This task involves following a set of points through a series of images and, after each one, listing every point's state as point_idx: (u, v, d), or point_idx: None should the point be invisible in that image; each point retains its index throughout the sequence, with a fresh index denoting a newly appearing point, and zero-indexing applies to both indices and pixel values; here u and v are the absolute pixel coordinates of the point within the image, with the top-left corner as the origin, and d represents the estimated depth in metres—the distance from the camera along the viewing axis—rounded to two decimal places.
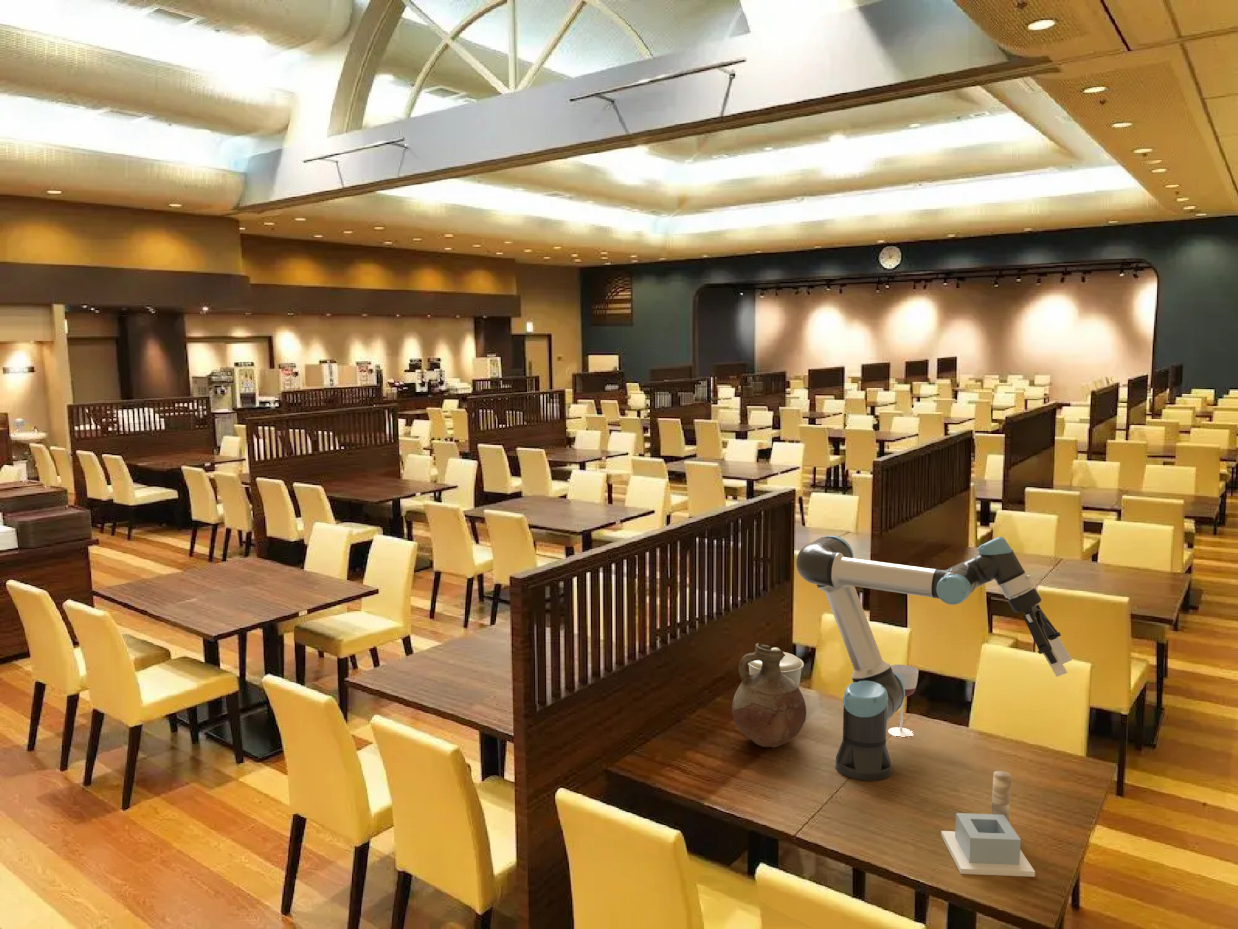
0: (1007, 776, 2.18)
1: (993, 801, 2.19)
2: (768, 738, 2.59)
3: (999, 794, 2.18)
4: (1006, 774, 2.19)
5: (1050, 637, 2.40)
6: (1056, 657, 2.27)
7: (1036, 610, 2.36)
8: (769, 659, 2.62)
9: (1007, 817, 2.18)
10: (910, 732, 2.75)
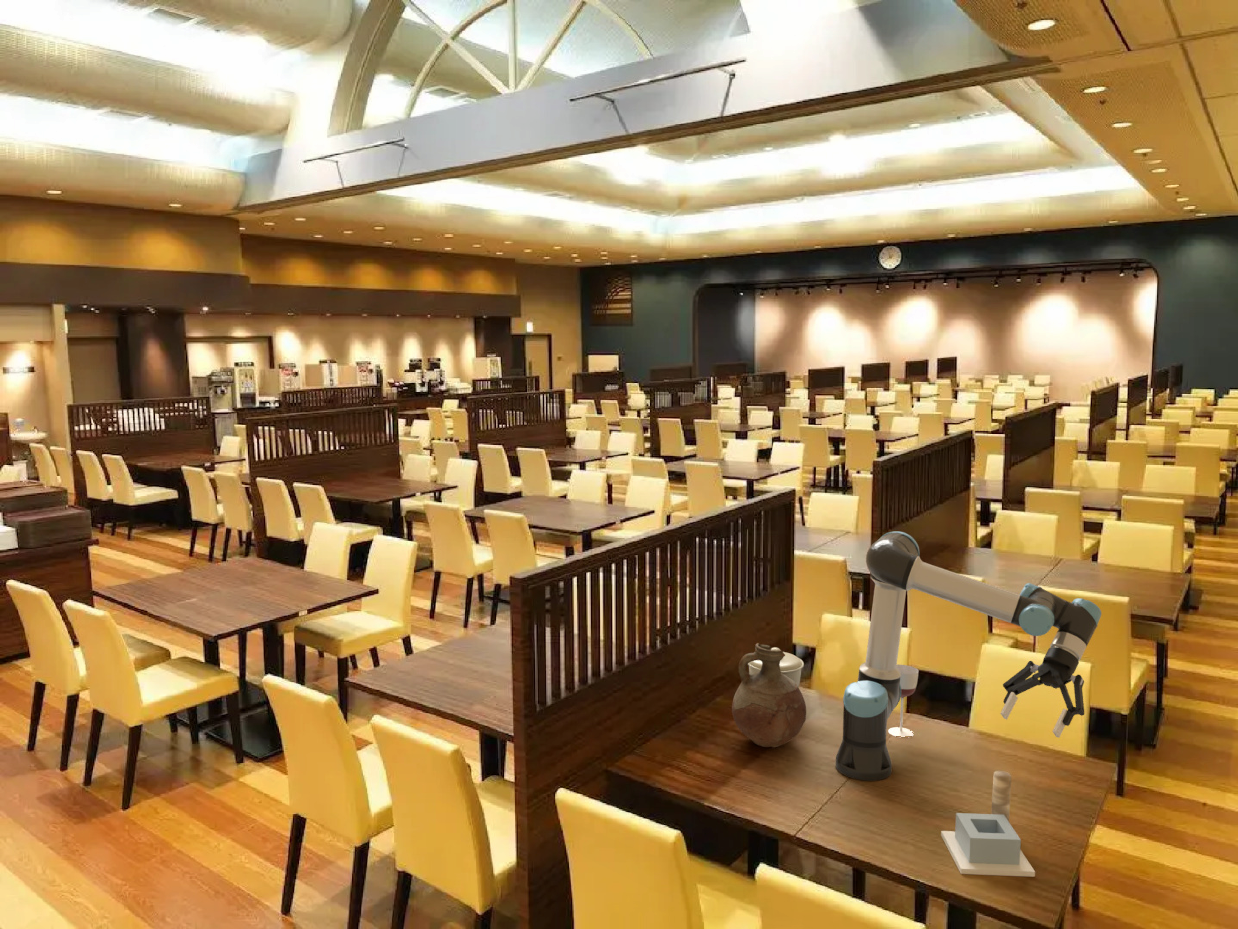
0: (1007, 776, 2.18)
1: (993, 801, 2.19)
2: (768, 738, 2.59)
3: (999, 794, 2.18)
4: (1006, 774, 2.19)
5: (1013, 691, 2.32)
6: None
7: None
8: (769, 659, 2.62)
9: (1007, 817, 2.18)
10: (910, 732, 2.75)
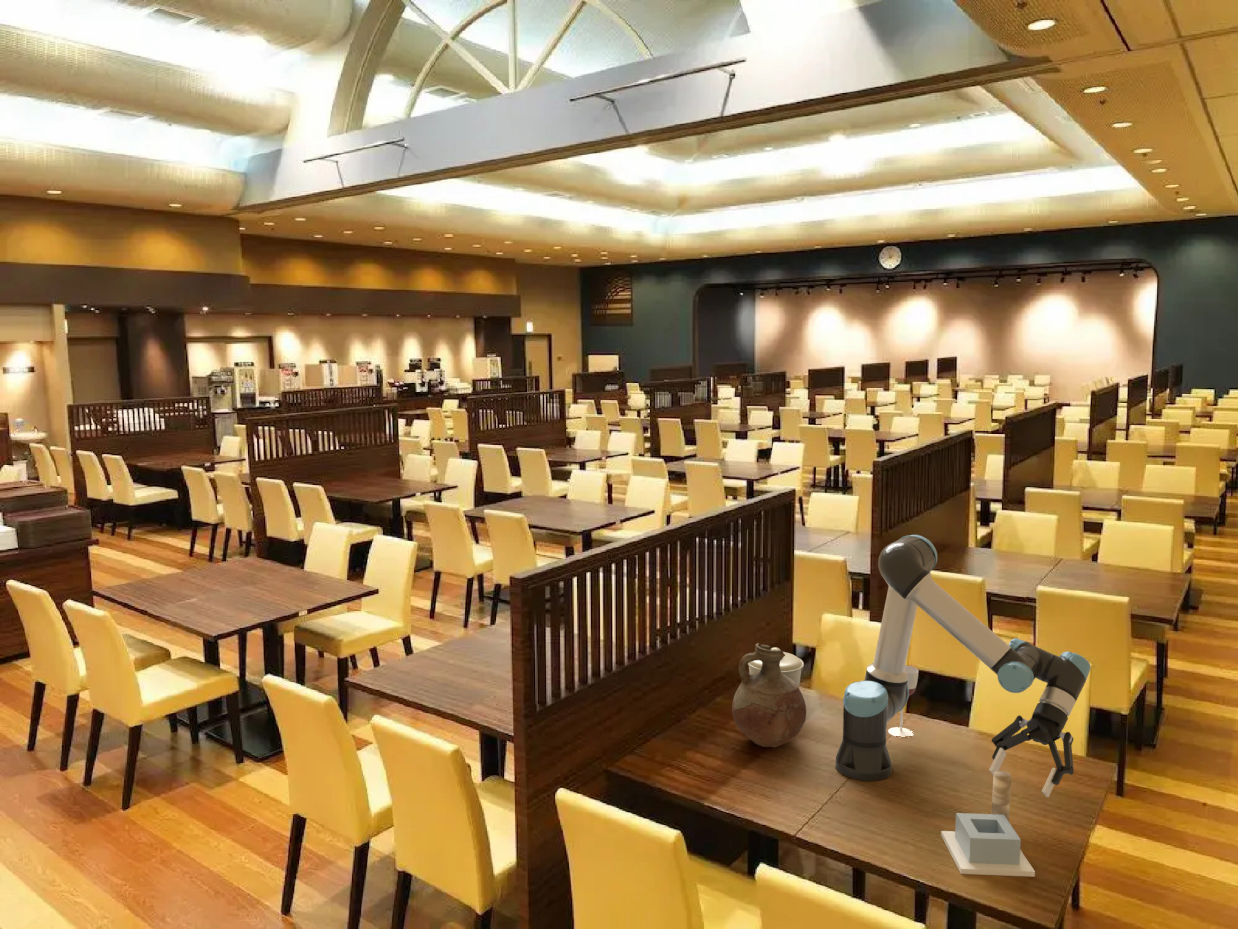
0: (1007, 776, 2.18)
1: (993, 801, 2.19)
2: (768, 738, 2.59)
3: (999, 794, 2.18)
4: (1006, 774, 2.19)
5: (1002, 746, 2.29)
6: None
7: None
8: (769, 659, 2.62)
9: (1007, 817, 2.18)
10: (910, 732, 2.75)
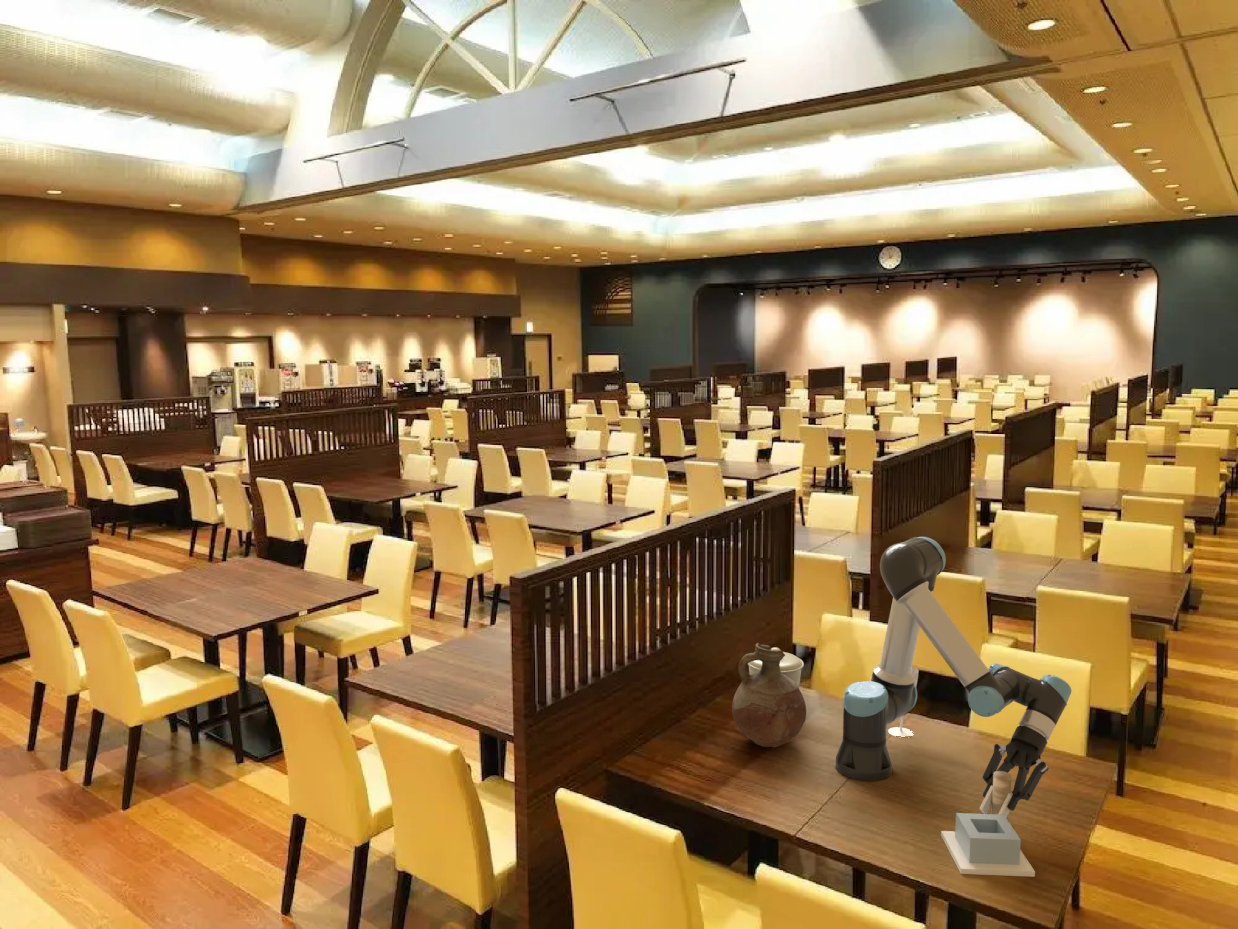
0: (1007, 776, 2.18)
1: (993, 801, 2.19)
2: (768, 738, 2.59)
3: (999, 794, 2.18)
4: (1006, 774, 2.19)
5: None
6: None
7: None
8: (769, 659, 2.62)
9: (1007, 817, 2.18)
10: (910, 732, 2.75)
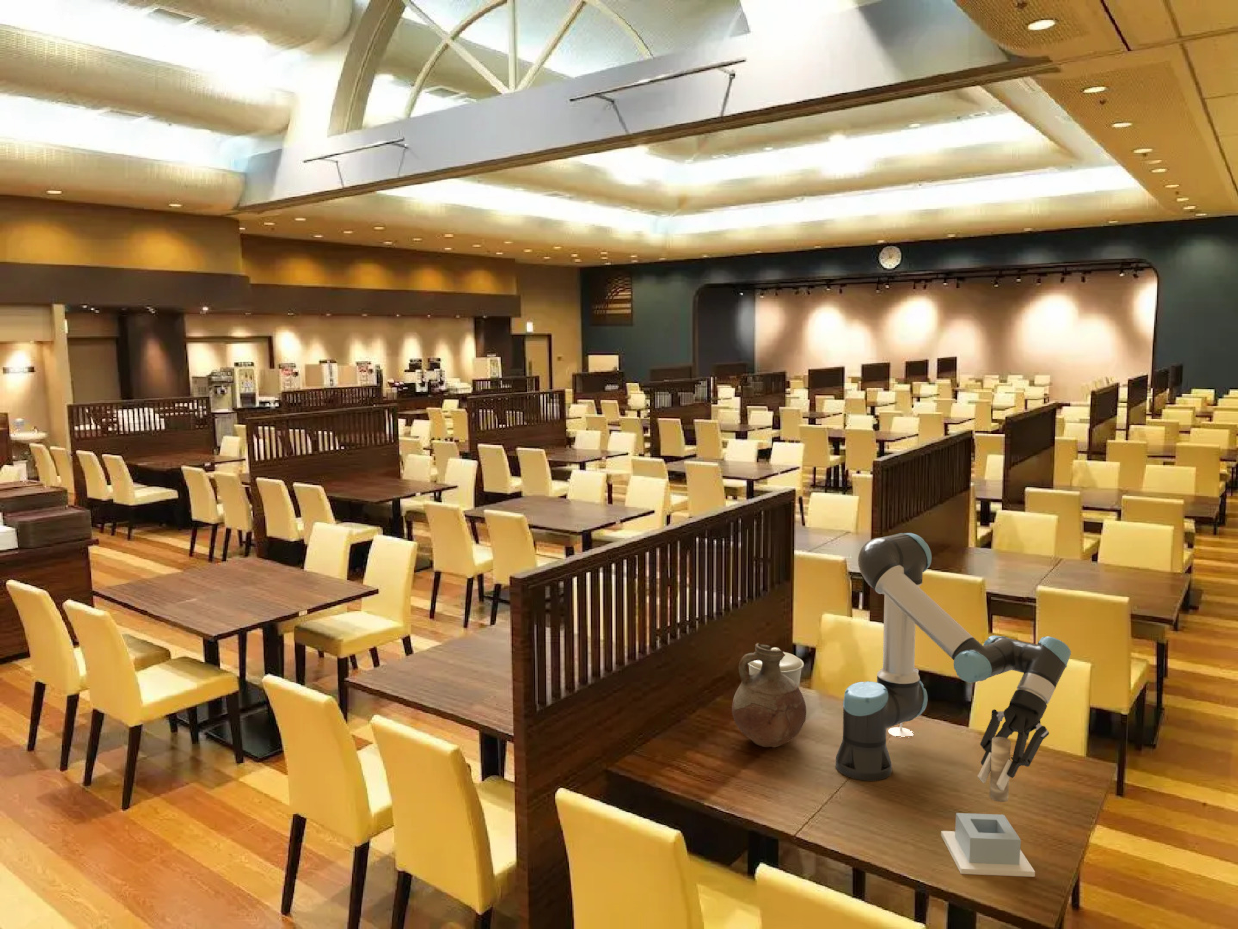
0: (1006, 742, 2.08)
1: (992, 768, 2.09)
2: (768, 738, 2.59)
3: (998, 761, 2.08)
4: (1005, 739, 2.09)
5: None
6: None
7: None
8: (769, 659, 2.62)
9: (1007, 785, 2.09)
10: (910, 732, 2.75)
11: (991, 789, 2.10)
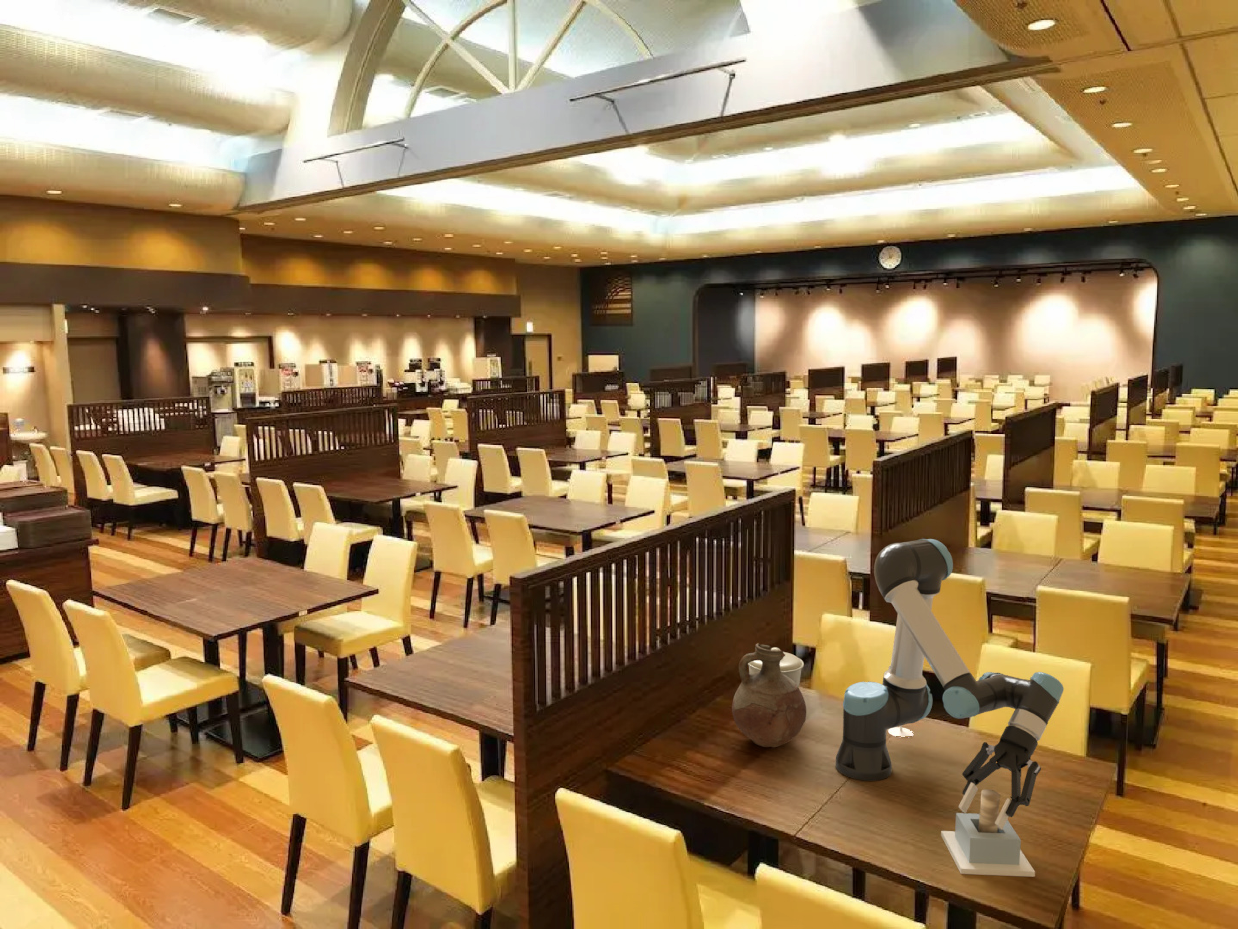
0: (996, 795, 2.06)
1: (980, 821, 2.08)
2: (768, 738, 2.59)
3: (986, 814, 2.06)
4: (994, 793, 2.07)
5: (973, 781, 2.12)
6: None
7: None
8: (769, 659, 2.62)
9: None
10: (910, 732, 2.75)
11: None
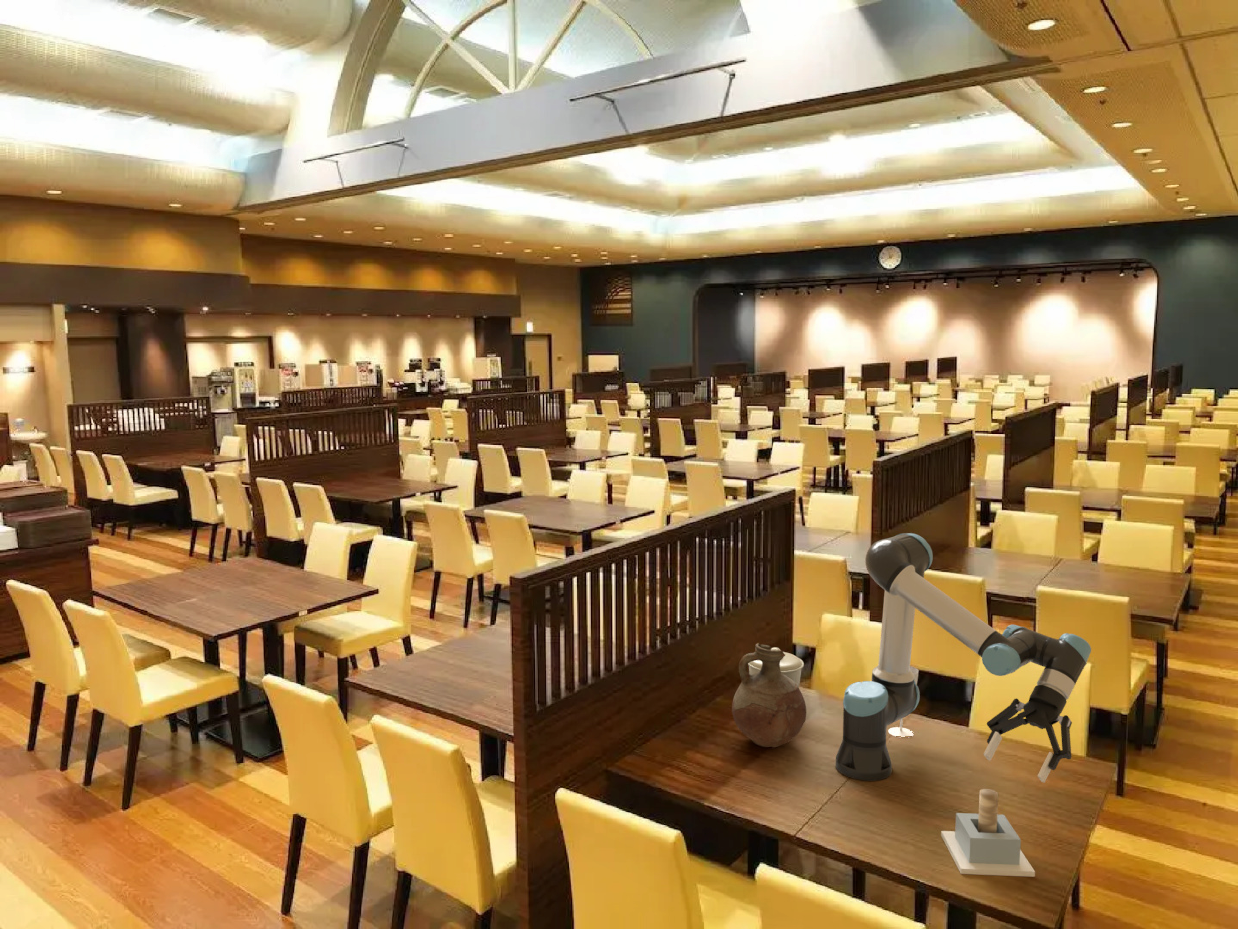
0: (994, 794, 2.06)
1: (979, 821, 2.08)
2: (768, 738, 2.59)
3: (985, 814, 2.06)
4: (993, 792, 2.08)
5: (998, 730, 2.20)
6: None
7: None
8: (769, 659, 2.62)
9: None
10: (910, 732, 2.75)
11: None
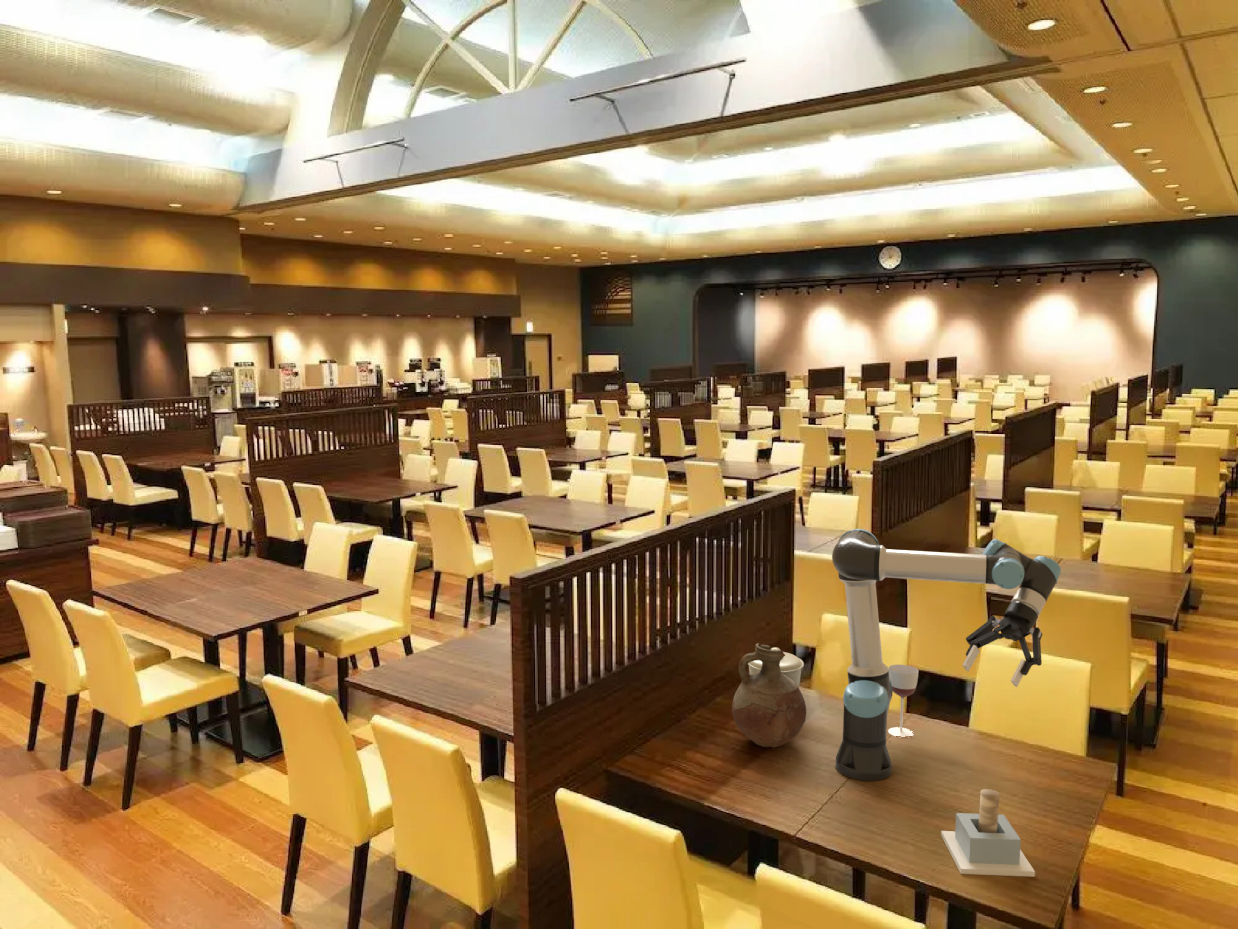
0: (995, 795, 2.06)
1: (980, 821, 2.08)
2: (768, 738, 2.59)
3: (986, 814, 2.06)
4: (994, 792, 2.08)
5: (975, 644, 2.40)
6: None
7: None
8: (769, 659, 2.62)
9: None
10: (910, 732, 2.75)
11: None
